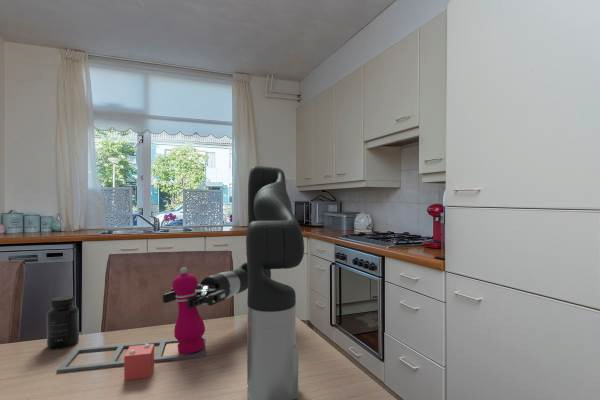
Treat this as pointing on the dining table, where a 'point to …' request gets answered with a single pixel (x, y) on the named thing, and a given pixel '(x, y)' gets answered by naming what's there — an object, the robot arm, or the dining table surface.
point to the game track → (168, 355)
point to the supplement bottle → (62, 323)
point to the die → (139, 362)
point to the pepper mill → (187, 315)
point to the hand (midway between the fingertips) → (175, 301)
